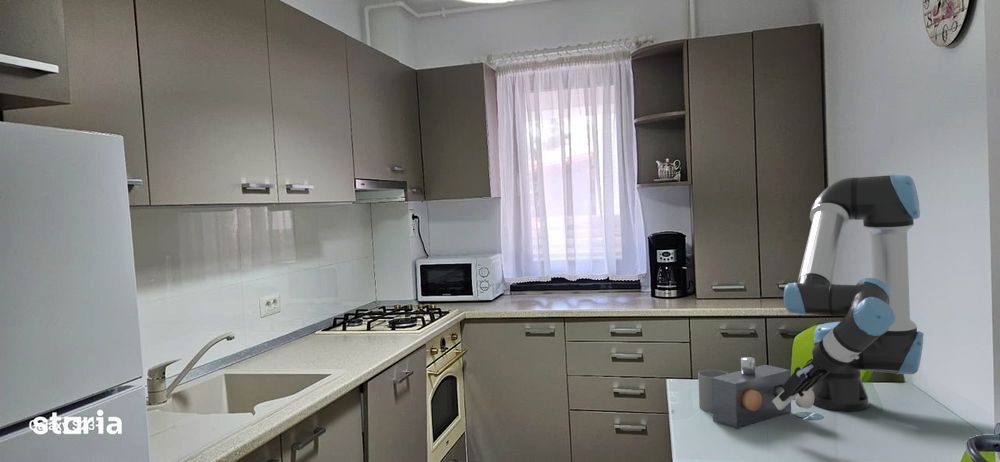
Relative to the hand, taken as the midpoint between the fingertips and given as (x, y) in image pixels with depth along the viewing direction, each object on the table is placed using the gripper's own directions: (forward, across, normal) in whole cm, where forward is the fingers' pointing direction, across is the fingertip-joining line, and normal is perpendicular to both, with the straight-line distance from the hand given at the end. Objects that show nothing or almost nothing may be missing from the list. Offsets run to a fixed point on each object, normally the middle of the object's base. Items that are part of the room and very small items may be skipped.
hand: (777, 404), depth 165 cm
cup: (+23, +4, +12) cm, 27 cm away
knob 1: (+11, 0, +6) cm, 12 cm away
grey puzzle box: (+15, +6, +4) cm, 16 cm away
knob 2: (+6, +12, +1) cm, 14 cm away
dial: (+7, +6, +13) cm, 16 cm away
